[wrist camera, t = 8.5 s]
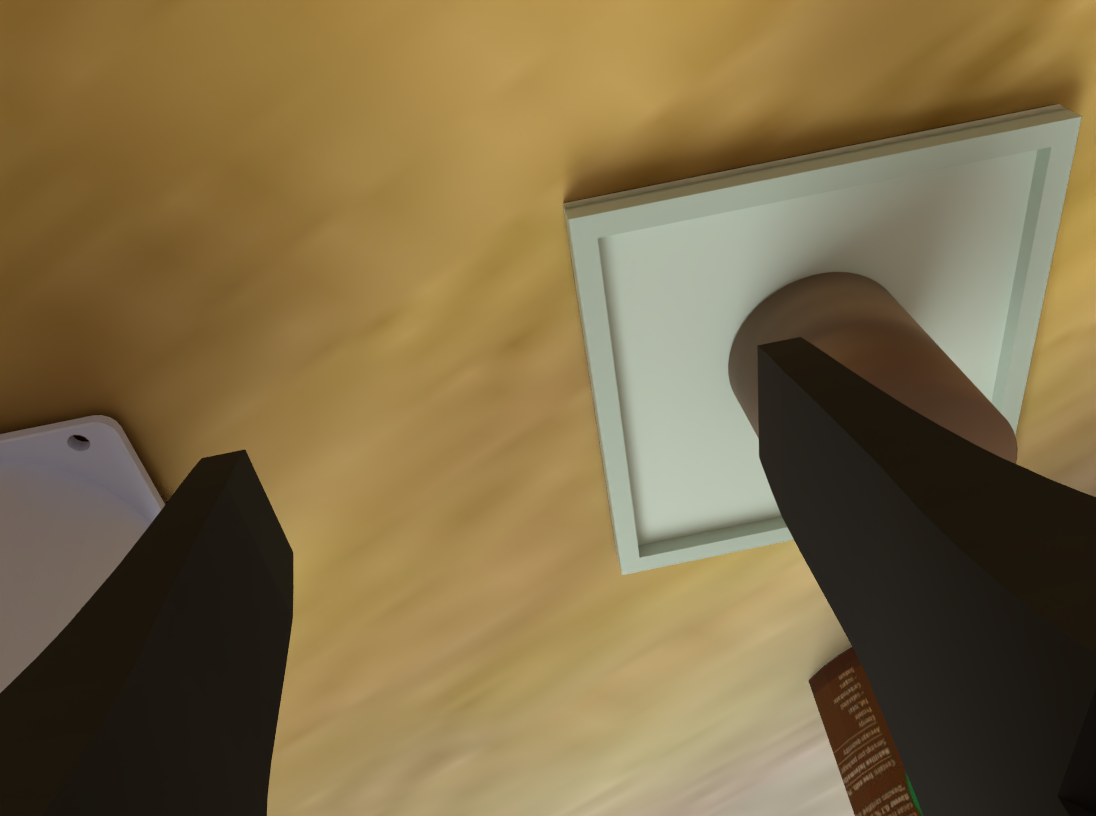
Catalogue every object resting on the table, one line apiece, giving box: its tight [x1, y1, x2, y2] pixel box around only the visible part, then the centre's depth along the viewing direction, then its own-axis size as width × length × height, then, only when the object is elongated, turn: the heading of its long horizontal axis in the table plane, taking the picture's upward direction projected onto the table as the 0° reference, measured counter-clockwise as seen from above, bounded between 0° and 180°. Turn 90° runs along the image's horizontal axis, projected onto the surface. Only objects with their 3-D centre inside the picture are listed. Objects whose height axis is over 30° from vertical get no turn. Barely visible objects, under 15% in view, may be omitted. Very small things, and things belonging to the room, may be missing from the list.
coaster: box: [563, 104, 1082, 575], centre depth 25 cm, size 12×12×1 cm
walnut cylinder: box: [728, 272, 1017, 464], centre depth 22 cm, size 5×5×6 cm
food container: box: [809, 647, 923, 816], centre depth 30 cm, size 12×6×10 cm, turn 64°
